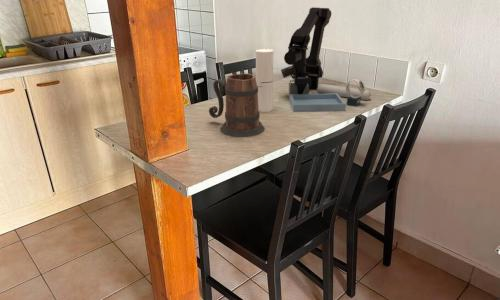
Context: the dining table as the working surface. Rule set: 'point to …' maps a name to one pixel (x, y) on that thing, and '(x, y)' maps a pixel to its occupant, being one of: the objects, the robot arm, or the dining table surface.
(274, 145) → the dining table surface
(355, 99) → the watch
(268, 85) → the cylindrical container
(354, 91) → the tube
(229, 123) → the tankard
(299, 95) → the tray
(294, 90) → the caddy
